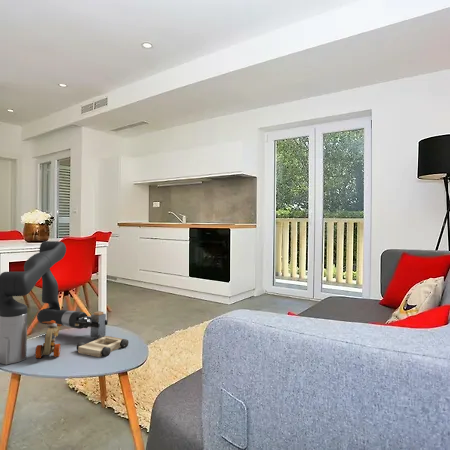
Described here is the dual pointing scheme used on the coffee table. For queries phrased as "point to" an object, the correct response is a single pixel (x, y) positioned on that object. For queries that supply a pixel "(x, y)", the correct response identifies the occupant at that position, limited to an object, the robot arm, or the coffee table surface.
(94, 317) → the block
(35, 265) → the robot arm
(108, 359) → the coffee table surface
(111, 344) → the chassis
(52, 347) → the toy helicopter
